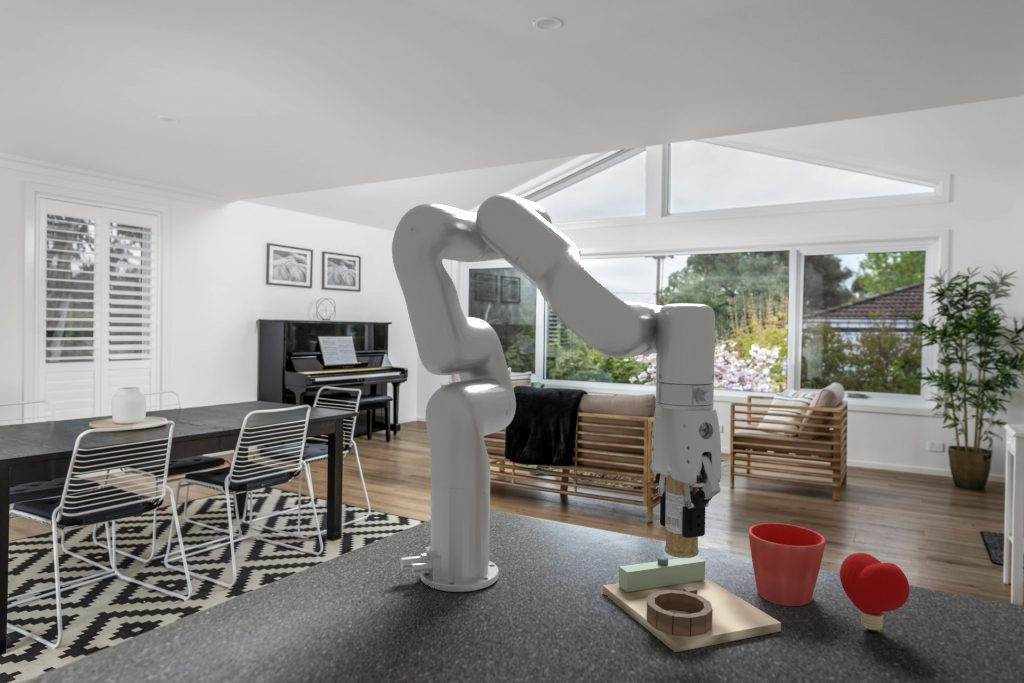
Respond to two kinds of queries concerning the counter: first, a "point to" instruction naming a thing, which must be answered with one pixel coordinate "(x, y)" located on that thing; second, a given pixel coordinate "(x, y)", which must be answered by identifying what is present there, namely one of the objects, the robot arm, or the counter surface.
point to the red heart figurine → (873, 587)
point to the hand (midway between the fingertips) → (681, 528)
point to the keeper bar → (661, 573)
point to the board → (693, 614)
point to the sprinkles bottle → (677, 521)
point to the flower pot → (785, 562)
